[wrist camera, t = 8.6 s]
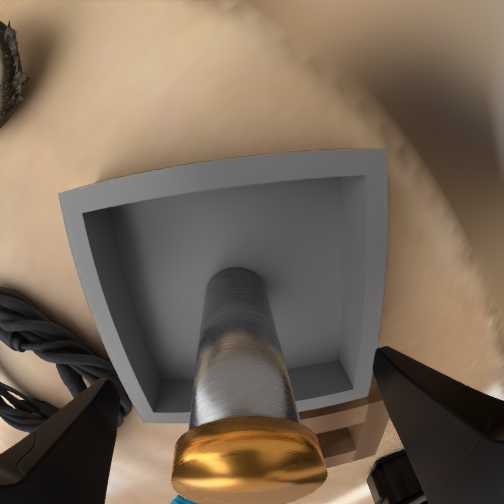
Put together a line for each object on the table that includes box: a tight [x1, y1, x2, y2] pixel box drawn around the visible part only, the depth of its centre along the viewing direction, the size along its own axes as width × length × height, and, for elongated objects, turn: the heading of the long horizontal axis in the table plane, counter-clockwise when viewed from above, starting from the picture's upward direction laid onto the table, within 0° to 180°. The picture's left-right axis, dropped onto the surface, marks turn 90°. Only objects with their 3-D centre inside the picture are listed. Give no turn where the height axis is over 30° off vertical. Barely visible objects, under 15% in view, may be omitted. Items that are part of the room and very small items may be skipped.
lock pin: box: [171, 267, 327, 504], centre depth 10 cm, size 4×4×10 cm
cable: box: [0, 287, 131, 433], centre depth 15 cm, size 17×14×4 cm
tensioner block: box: [298, 374, 390, 468], centre depth 18 cm, size 8×8×3 cm
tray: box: [58, 149, 388, 423], centre depth 13 cm, size 13×13×4 cm
